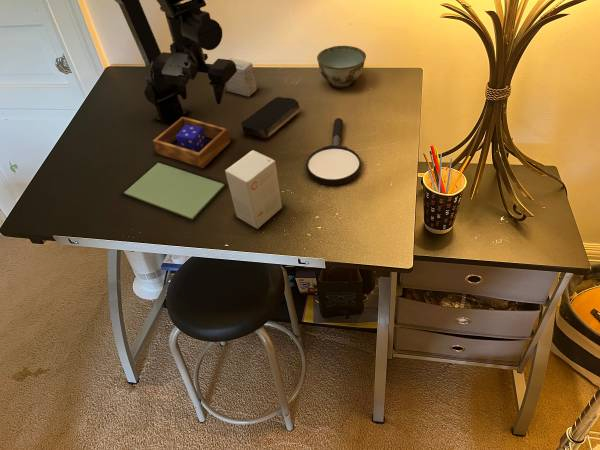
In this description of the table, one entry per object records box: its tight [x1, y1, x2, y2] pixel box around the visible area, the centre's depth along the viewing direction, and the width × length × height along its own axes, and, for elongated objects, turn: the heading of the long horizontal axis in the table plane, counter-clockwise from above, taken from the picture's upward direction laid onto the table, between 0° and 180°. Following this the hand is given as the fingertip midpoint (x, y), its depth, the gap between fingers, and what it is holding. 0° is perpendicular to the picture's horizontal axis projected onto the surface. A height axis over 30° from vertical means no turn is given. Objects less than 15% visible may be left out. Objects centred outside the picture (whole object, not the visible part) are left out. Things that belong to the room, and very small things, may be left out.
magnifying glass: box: [306, 117, 362, 186], centre depth 110 cm, size 12×24×2 cm, turn 173°
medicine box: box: [225, 57, 258, 98], centre depth 132 cm, size 8×4×9 cm, turn 58°
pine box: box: [152, 116, 231, 169], centre depth 116 cm, size 15×12×4 cm
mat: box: [123, 162, 226, 221], centre depth 106 cm, size 20×12×1 cm, turn 61°
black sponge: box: [240, 96, 300, 138], centre depth 121 cm, size 16×8×4 cm, turn 143°
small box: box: [224, 149, 283, 230], centre depth 94 cm, size 8×6×13 cm
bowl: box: [316, 45, 367, 88], centre depth 131 cm, size 14×13×8 cm
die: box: [176, 125, 208, 153], centre depth 115 cm, size 5×5×5 cm
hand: (202, 101), depth 108 cm, fingers open, 9 cm apart
